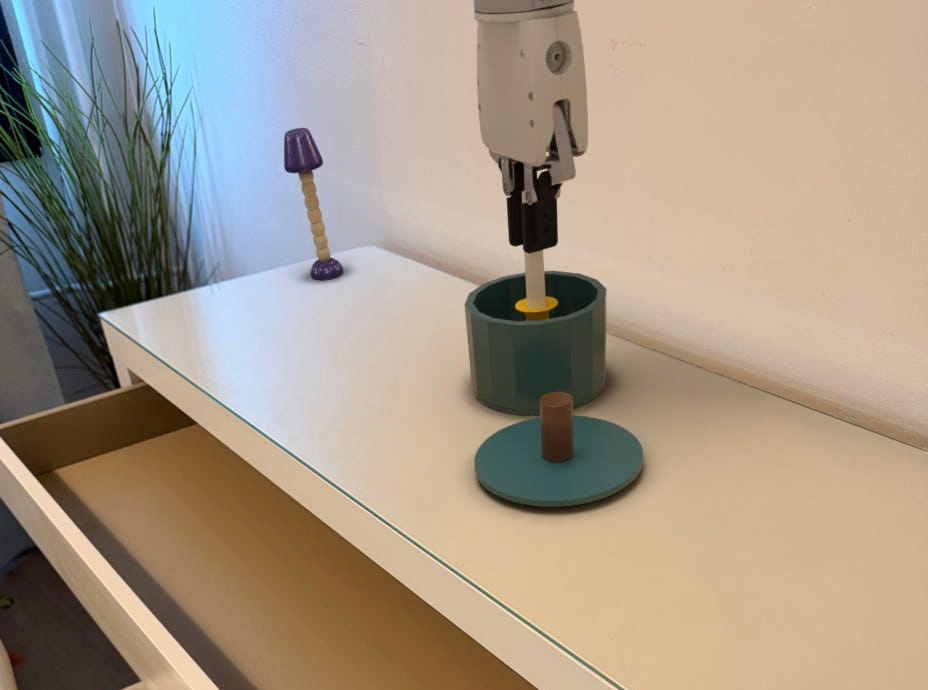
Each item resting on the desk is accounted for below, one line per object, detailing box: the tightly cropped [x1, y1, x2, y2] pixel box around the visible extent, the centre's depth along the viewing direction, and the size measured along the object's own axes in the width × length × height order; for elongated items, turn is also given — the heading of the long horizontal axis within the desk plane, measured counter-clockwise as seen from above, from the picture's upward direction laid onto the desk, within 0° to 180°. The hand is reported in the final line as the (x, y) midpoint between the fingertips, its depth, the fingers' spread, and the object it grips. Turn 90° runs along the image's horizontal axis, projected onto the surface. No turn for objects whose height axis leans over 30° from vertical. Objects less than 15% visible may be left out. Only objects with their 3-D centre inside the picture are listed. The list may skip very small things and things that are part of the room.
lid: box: [473, 392, 644, 508], centre depth 75 cm, size 14×14×6 cm
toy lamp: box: [283, 127, 344, 281], centre depth 114 cm, size 5×5×17 cm
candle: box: [515, 191, 558, 321], centre depth 82 cm, size 5×5×16 cm
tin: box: [464, 270, 608, 416], centre depth 86 cm, size 13×13×8 cm
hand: (533, 244), depth 81 cm, fingers closed on candle
